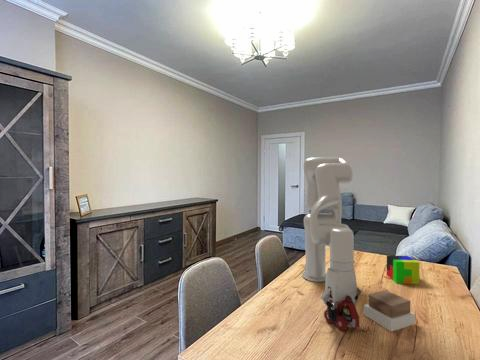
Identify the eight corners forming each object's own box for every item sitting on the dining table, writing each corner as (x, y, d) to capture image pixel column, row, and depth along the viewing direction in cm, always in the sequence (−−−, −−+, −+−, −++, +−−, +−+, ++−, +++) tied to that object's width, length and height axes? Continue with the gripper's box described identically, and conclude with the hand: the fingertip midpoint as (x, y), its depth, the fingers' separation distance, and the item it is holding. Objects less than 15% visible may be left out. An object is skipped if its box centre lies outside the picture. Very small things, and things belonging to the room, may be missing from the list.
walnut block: (368, 306, 94) (368, 294, 94) (386, 301, 98) (386, 290, 97) (392, 318, 86) (392, 306, 86) (410, 312, 89) (410, 300, 89)
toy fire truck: (349, 336, 82) (349, 303, 82) (320, 317, 93) (320, 288, 93) (364, 330, 85) (364, 298, 85) (334, 312, 96) (334, 284, 96)
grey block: (363, 315, 95) (363, 304, 95) (386, 310, 99) (386, 299, 99) (391, 332, 85) (391, 320, 85) (414, 325, 89) (414, 313, 89)
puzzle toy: (407, 275, 132) (407, 256, 131) (419, 284, 122) (419, 262, 122) (386, 275, 133) (386, 255, 132) (396, 283, 123) (396, 261, 123)
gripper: (352, 258, 96) (352, 307, 96) (313, 264, 89) (313, 317, 89) (369, 265, 89) (369, 317, 89) (328, 272, 82) (328, 328, 82)
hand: (341, 316), depth 89 cm, fingers closed on toy fire truck, 7 cm apart
